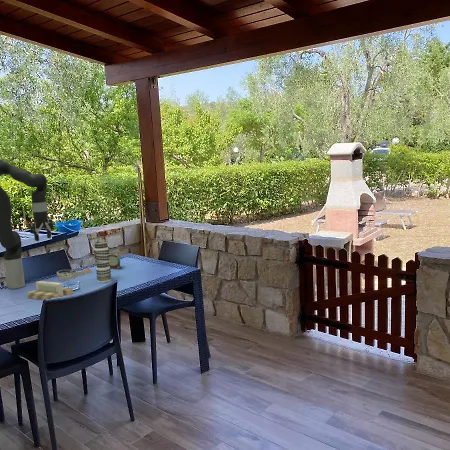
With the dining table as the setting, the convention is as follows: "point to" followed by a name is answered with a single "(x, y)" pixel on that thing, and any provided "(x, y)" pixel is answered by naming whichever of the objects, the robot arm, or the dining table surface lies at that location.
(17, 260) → the robot arm
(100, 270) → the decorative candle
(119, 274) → the dining table surface
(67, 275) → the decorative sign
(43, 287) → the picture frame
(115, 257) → the food container
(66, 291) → the tan bumpy slab
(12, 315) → the dining table surface
